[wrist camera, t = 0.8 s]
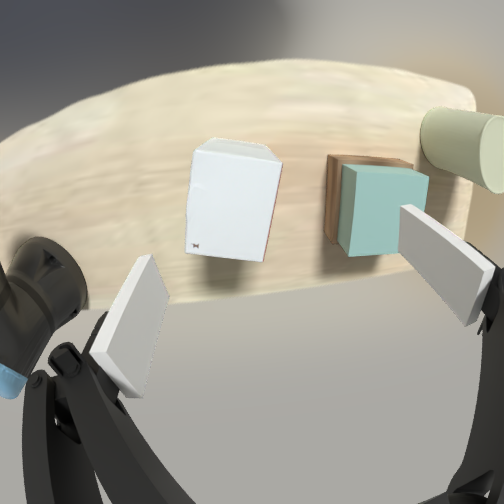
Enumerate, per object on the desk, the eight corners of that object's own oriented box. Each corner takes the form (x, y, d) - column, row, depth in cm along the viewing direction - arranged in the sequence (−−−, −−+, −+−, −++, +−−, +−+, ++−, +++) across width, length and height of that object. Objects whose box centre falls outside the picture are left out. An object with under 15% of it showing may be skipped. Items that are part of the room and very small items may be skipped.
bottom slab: (323, 230, 35) (332, 244, 31) (326, 154, 30) (337, 159, 27) (388, 228, 35) (402, 240, 32) (397, 158, 30) (413, 164, 27)
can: (451, 179, 31) (507, 208, 21) (411, 150, 29) (472, 173, 19) (469, 128, 27) (528, 144, 17) (431, 93, 25) (494, 98, 15)
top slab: (336, 240, 31) (348, 256, 28) (342, 164, 27) (356, 171, 23) (400, 237, 31) (415, 251, 28) (410, 168, 27) (429, 176, 24)
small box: (255, 209, 33) (263, 265, 21) (202, 202, 32) (182, 255, 21) (267, 143, 29) (285, 161, 18) (211, 135, 28) (190, 148, 17)
